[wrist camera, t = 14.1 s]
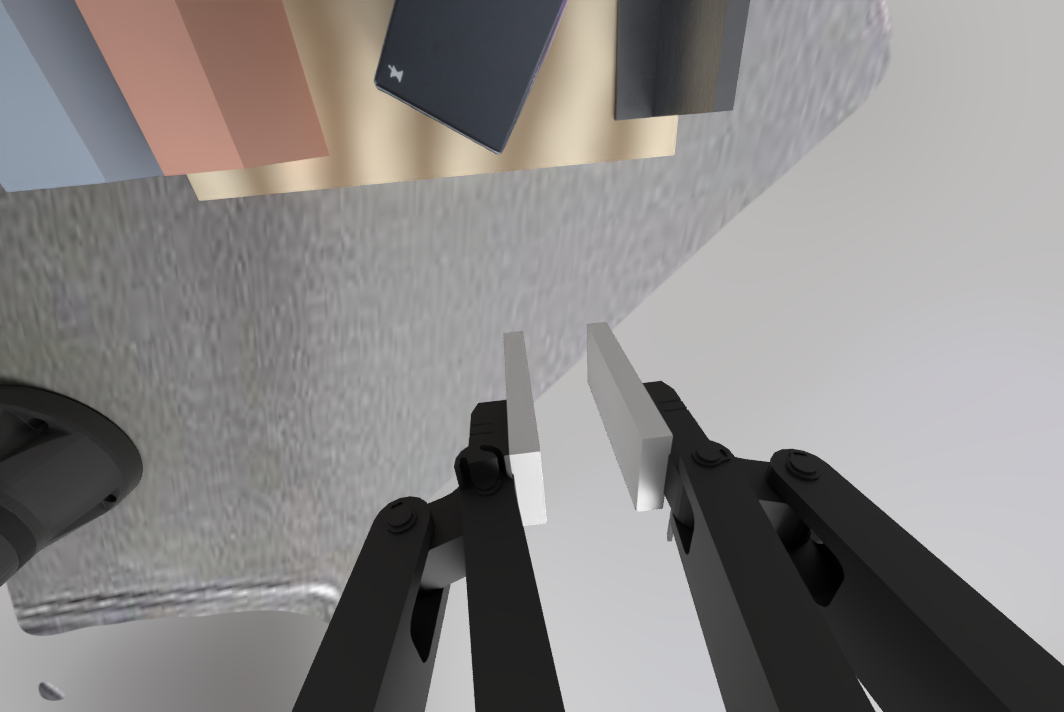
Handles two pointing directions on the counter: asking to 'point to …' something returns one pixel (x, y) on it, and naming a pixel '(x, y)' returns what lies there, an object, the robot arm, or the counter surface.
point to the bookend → (677, 56)
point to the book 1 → (62, 104)
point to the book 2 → (209, 81)
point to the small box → (467, 61)
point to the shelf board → (425, 144)
